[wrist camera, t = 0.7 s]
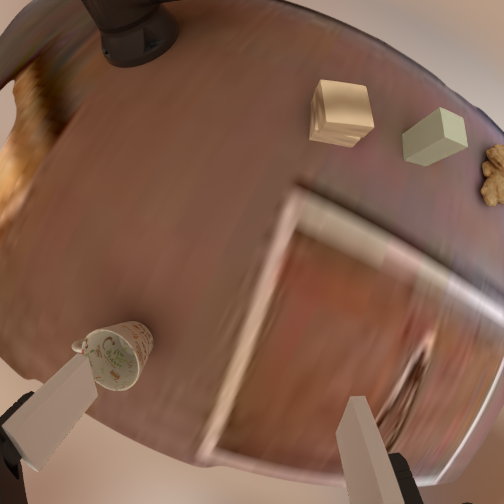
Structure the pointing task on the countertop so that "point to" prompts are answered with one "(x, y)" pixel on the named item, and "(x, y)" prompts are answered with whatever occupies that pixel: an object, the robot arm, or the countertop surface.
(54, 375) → the robot arm
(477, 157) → the countertop surface
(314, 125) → the beige wooden block
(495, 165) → the ginger root
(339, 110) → the slab upper
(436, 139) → the pale green block
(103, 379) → the mug
